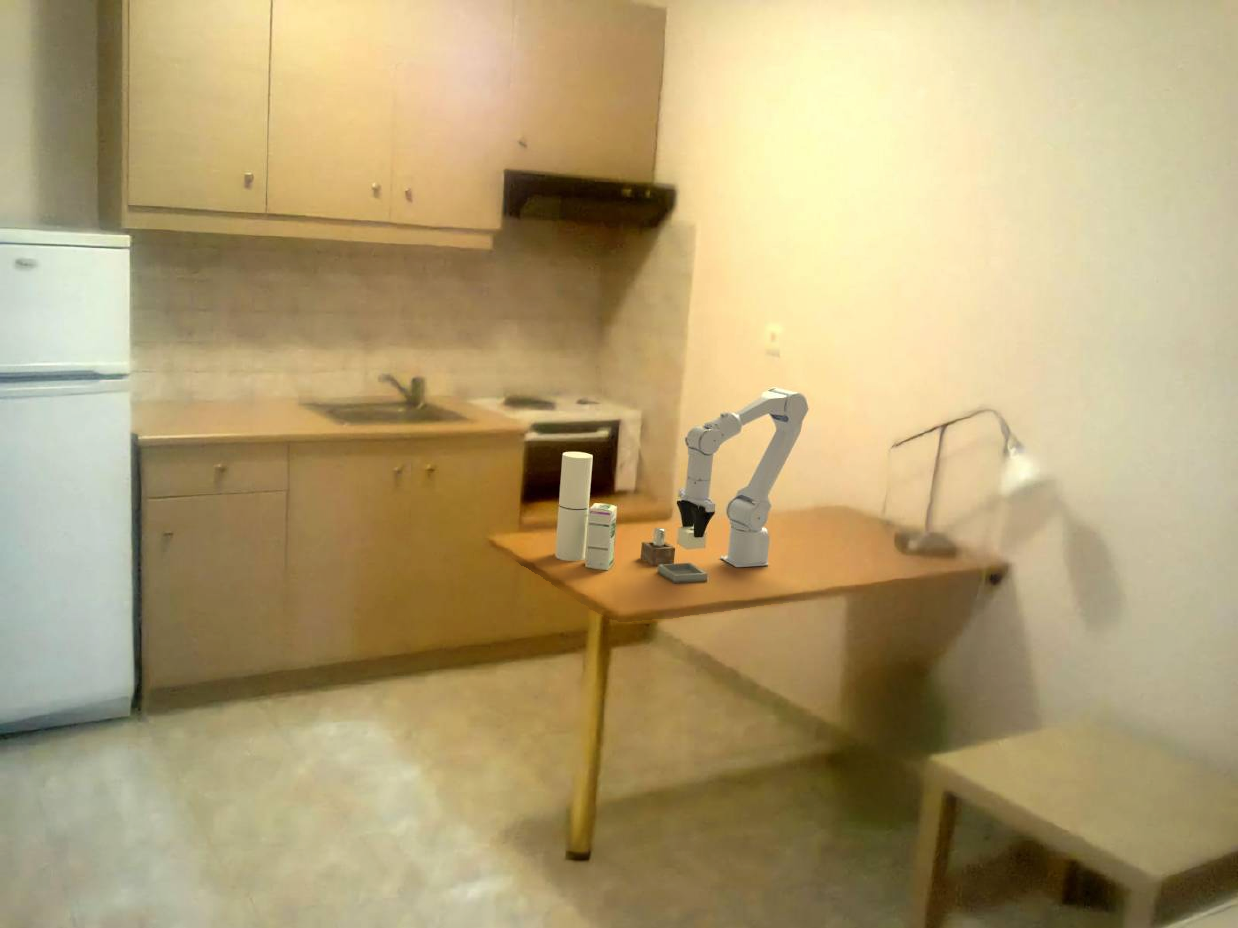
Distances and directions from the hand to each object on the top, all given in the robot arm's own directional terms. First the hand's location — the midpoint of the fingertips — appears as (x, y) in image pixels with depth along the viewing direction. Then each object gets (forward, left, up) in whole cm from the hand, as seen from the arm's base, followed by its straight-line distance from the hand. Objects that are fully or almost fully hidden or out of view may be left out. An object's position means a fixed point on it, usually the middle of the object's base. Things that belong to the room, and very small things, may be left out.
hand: (692, 533), depth 255 cm
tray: (+5, +6, -9) cm, 11 cm away
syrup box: (+21, -6, -9) cm, 24 cm away
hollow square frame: (+5, -7, -9) cm, 12 cm away
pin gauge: (+5, -7, -9) cm, 12 cm away
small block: (0, 0, -3) cm, 3 cm away
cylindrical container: (+25, -14, -9) cm, 30 cm away
